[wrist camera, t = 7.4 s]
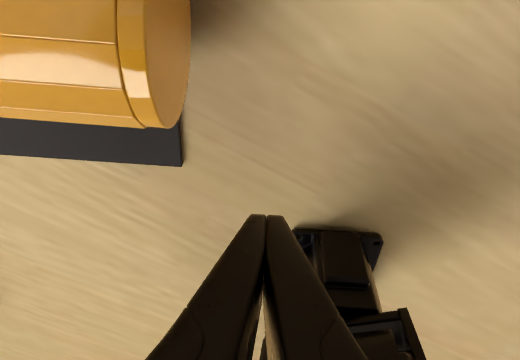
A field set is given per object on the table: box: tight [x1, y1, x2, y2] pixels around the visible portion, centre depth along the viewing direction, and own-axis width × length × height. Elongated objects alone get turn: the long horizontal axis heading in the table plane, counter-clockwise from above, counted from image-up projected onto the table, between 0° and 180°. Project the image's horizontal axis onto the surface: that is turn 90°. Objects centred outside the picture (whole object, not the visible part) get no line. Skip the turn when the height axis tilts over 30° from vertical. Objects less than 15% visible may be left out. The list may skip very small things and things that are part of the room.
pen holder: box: [0, 0, 191, 129], centre depth 15 cm, size 7×7×11 cm
